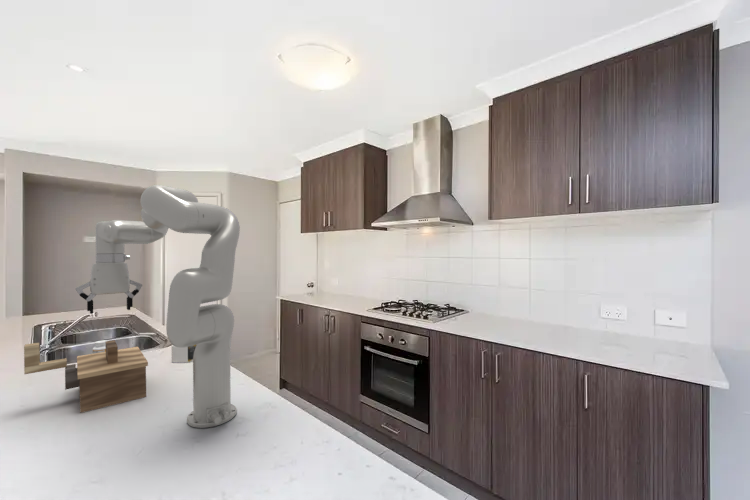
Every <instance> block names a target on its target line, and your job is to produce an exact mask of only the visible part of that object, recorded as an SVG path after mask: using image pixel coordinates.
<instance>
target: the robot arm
mask: <svg viewBox="0 0 750 500" xmlns="http://www.w3.org/2000/svg"><path fill="white" fill-rule="evenodd" d="M139 201H140V207H141V211H140V216H141V220H142V221H140V220H138V221H137V220H125V219H124V220H123V219H113V220H106V221H104V220H103V221H98V222H97V223H96V224H95V263H92V265H91V269H90V281H88V282H85V283H83V284H81V285H79V286H76V287H75V291H76V292H77V293H78V295H79V296H80V297H81V298H82V299H83V300H85V301H86V303H87V304H86V307H87V308H86V309H87V310H86V311H87V312H89V314H90V315H91V314H94V300H93V299H94V298H95V297H96V296H97V295H98V296H99V295H102V296H103V295H114V294H126V295H127V297H126V309H127V311H131V308H132V307H134V306H133V305H134V304H133V301H134V300H133V298H134V297H135V296H136V295H137V294H138V293H139V292H140V290H141V289H142V287H143V284H142V283H140V282H137V281H134V280H133V279H130V272H129V266H128V262H125V261H127V260H131V255H127V254H125V252H126V251H125V245H148V244H151V243H154V242H157V241H158V240H162V238H164V237H165V236H166V235H167V234H168V231H169V229H170V230H172V231H174V232H177V233H179V234H181V233H182V234H195V235H198V234H201V235H210V237H209V238H208V239H207V240H206V242H205V243H204V246H203V248H202V251H201V259H200V265H199V267H195V268H192V267H191V268H186V269H181V270H180V271H179V272H177V273H176V274H175V275H174V277H173V278H172V280H171V283H170V285H169V290H168V303H167V313H166V324H165V325H166V326H165V328H166V331H165V332H166V335H167V339H168V341H169V343H170V344H171V346H172V345H174V346H175V347H179V348H184V347H189V346H193V345H196V344H197V346H196V348H195V351H194V356H193V360H192V380H193V381H192V387H193V388H192V392H193V393H192V397H193V398H192V401H193V402H192V403H193V404H192V405H193V410H192V411H191V412H189V414H188V415H187V417H186V424H187V425H188V426H190V427H193V428H197V429H204V428H205V429H207V428H213V427H217V426H220V425H223V424H225V423H227V422H229V421H231V420H233V418H234V417H235V416H236V414H237V407H236V406H235V405H234V404H233V403H231V400H232V399H231V397H232V396H231V395H232V394H231V391H232V389H231V388H232V387H231V386H232V385H231V353H232V351H231V350H232V349H231V348H232V345H231V344H232V336H233V331H234V327H235V316H234V313H233V311H232V310H231V308H230V307H228V306H227V305H224V304H221V303H214V304H213V302H217V301H221V300H224V299H227V297H229V295H231V292H232V288H233V283H234V282H233V281H234V273H235V272H234V270H235V261H236V253H237V252H236V251H237V248H238V243H239V238H240V232H241V231H240V230H241V229H240V228H241V227H240V226H241V225H240V222H239V219H238V217H237V216H236V214H235V213H234V212H233V211H232V210H231V209H229V208H228V207H224V206H222V205H217V204H212V203H205V202H199V200H198V198H197V196H196V195H195V194H194V193H193V192H191V191H189V190H186V189H185V188H179V187H173V186H167V185H161V184H154V185H151V186H148V187H147V188H145V189H144V190H143V192H142V193H141V196H140V200H139ZM131 285H132V286H135V288H134V290H133V291H131V292H130V288H131V287H130V286H131ZM89 287H90V288H89ZM86 288H87V289H88V288H89V289H90V293H89V294H86V293H85V292H84V289H86ZM208 303H212V304H208ZM203 304H208V305H203ZM201 305H202V306H201Z"/></svg>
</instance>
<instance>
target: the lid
mask: <svg viewBox="0 0 750 500" xmlns="http://www.w3.org/2000/svg"><path fill="white" fill-rule="evenodd" d="M118 348H119V346H118V344H117V342H116V340H107V341H106V352H100V353H94V354H93V353H89V354H84V355H83V354H82V355H77V356H76V368H77V375H78V379H83V378H88V377H93V376H98V375H103V374H108V373H113V372H119V371H124V370H129V369H134V368H139V367H144V366H146V367H148V366H149V362H148V360H147V359H146V357H145V356H144V353H143V352H142V350H141V349H140V348H139V346H133V347H127V348H125V347H124V348H121V349H120V348H119V349H118Z"/></svg>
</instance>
